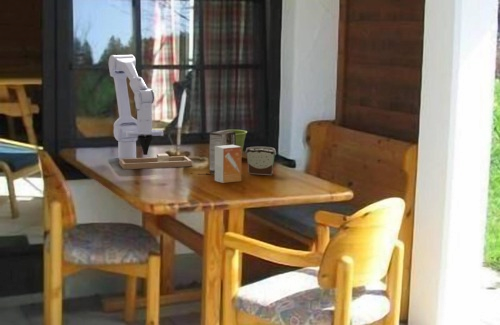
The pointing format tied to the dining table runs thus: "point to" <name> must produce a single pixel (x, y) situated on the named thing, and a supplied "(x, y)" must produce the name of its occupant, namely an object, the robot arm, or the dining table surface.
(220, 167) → the small box
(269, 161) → the food container
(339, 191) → the dining table surface
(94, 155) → the dining table surface
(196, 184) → the dining table surface
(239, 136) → the plant pot
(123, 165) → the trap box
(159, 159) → the birch cube
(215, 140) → the coffee box
